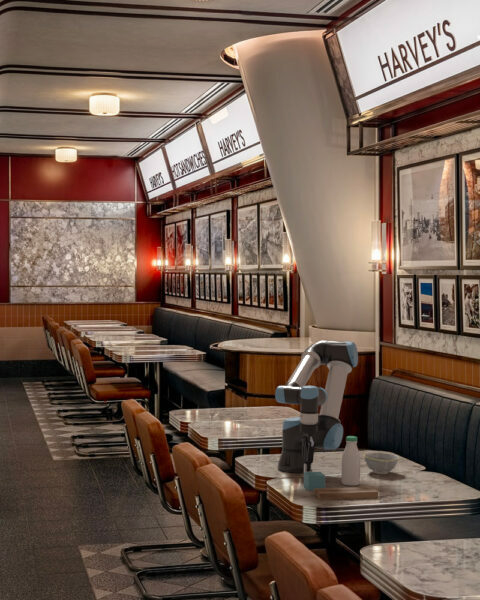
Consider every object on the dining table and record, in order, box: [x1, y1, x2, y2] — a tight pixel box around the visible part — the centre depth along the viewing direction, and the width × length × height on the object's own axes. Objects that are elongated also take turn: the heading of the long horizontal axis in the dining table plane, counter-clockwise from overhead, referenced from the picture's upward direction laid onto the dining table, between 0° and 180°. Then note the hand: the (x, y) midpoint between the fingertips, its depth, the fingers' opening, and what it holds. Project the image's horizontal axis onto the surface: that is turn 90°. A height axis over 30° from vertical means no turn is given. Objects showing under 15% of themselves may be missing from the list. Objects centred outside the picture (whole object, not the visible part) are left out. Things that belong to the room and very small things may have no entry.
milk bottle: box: [340, 435, 361, 487], centre depth 372 cm, size 8×8×20 cm
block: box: [303, 471, 326, 491], centre depth 363 cm, size 7×7×6 cm
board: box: [313, 486, 379, 501], centre depth 351 cm, size 8×24×2 cm, turn 102°
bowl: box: [363, 452, 400, 475], centre depth 395 cm, size 16×16×8 cm
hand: (307, 478), depth 373 cm, fingers closed
